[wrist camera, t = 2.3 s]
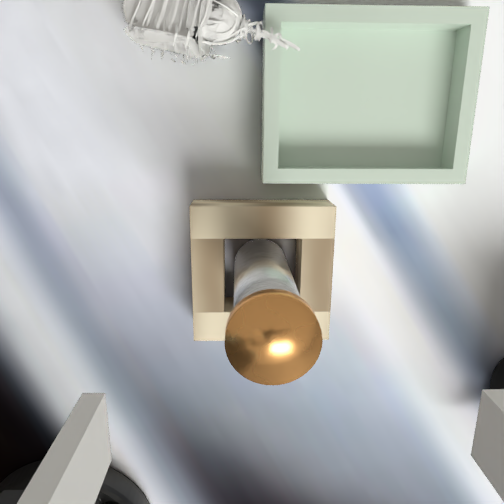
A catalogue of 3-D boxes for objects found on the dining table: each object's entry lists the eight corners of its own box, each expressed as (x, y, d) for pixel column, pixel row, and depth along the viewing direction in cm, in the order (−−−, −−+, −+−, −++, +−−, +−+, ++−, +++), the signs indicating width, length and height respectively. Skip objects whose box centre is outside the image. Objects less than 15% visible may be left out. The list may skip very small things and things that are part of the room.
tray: (261, 179, 32) (263, 183, 30) (263, 13, 29) (265, 3, 27) (448, 179, 33) (465, 183, 30) (469, 16, 30) (489, 6, 27)
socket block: (197, 323, 35) (193, 340, 32) (193, 199, 32) (189, 206, 29) (321, 322, 35) (328, 339, 32) (327, 199, 33) (336, 206, 30)
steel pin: (229, 292, 34) (225, 385, 22) (229, 233, 33) (224, 296, 21) (290, 292, 35) (320, 384, 22) (292, 233, 33) (324, 296, 21)
